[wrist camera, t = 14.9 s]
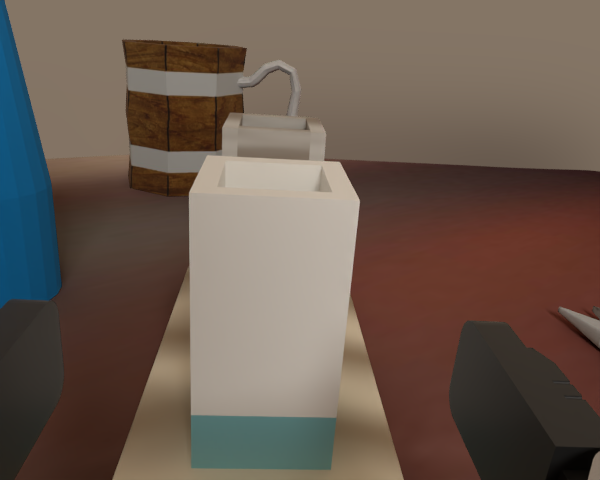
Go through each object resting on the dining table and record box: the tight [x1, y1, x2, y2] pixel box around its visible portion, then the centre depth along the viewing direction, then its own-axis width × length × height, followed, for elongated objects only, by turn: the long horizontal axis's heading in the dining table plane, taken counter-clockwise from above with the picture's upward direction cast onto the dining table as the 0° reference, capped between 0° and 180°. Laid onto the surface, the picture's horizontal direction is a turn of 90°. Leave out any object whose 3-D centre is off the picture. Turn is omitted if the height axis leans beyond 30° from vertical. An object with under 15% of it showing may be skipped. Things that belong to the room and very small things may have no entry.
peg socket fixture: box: [112, 113, 404, 480], centre depth 28 cm, size 20×11×12 cm, turn 3°
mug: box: [122, 40, 301, 196], centre depth 61 cm, size 20×14×15 cm
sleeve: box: [189, 155, 360, 470], centre depth 22 cm, size 5×5×11 cm
